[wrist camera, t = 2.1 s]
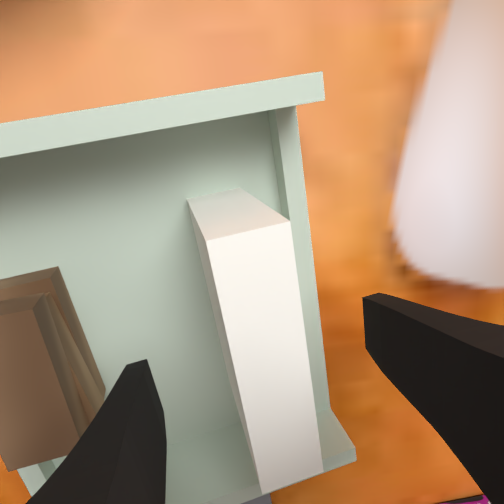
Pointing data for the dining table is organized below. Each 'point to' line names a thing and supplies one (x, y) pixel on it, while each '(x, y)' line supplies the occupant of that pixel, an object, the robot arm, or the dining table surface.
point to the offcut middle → (76, 364)
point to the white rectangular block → (260, 331)
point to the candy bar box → (471, 500)
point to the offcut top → (35, 386)
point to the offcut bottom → (56, 286)
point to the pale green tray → (164, 254)
